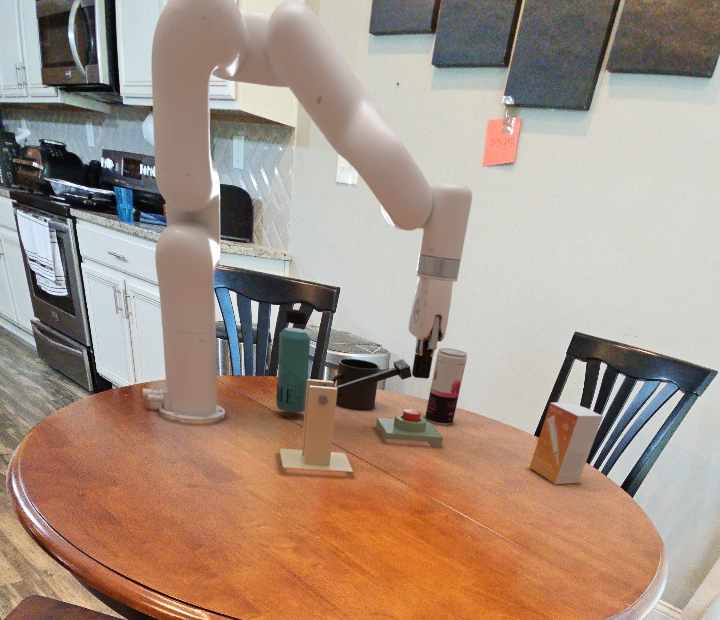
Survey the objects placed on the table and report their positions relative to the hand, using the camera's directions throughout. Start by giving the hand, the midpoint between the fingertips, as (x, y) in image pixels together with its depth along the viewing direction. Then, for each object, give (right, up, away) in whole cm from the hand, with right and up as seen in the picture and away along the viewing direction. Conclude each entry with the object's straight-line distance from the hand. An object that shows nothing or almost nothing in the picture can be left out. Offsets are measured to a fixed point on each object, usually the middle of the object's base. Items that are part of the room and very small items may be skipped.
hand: (420, 376), depth 117 cm
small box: (+26, -20, 0) cm, 33 cm away
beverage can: (+6, -1, +20) cm, 21 cm away
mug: (-14, +3, +22) cm, 26 cm away
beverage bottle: (-27, -4, +9) cm, 29 cm away
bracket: (-20, -22, -13) cm, 32 cm away
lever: (-12, -11, -20) cm, 25 cm away
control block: (-2, -10, +7) cm, 12 cm away
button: (-2, -7, +5) cm, 9 cm away
